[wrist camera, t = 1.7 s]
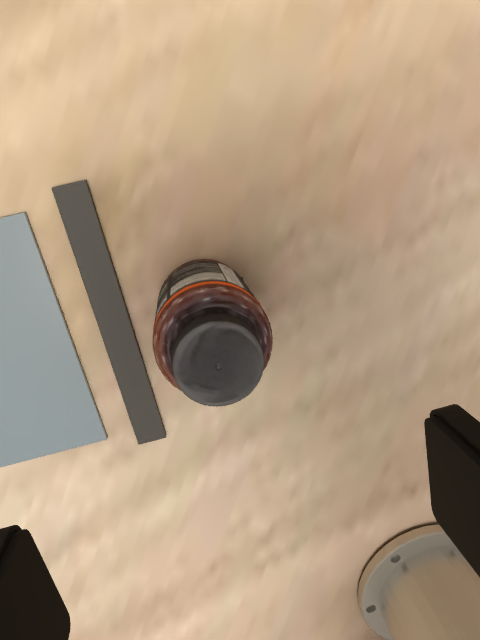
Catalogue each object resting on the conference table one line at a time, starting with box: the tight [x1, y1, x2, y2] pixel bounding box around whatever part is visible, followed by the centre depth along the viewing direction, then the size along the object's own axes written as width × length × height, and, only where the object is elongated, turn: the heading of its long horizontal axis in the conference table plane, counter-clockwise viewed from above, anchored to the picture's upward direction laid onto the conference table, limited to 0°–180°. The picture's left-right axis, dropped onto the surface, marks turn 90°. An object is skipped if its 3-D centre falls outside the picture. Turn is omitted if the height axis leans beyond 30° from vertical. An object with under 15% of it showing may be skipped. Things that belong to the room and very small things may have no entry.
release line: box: [52, 180, 166, 444], centre depth 29 cm, size 2×18×1 cm, turn 12°
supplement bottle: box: [153, 260, 272, 406], centre depth 24 cm, size 6×6×11 cm
